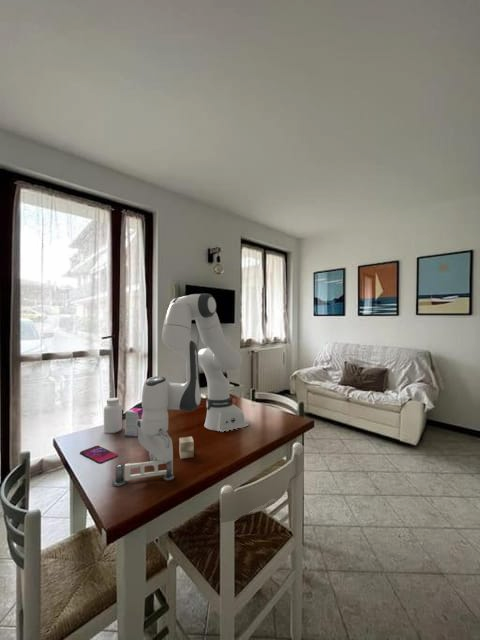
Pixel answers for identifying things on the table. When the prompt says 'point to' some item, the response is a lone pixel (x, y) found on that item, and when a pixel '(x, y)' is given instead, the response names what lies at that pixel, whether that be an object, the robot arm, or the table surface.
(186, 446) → the beech block
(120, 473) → the hinge post
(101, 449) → the smartphone
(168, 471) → the post
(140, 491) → the table surface
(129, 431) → the supplement box
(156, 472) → the gate
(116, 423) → the pill bottle
